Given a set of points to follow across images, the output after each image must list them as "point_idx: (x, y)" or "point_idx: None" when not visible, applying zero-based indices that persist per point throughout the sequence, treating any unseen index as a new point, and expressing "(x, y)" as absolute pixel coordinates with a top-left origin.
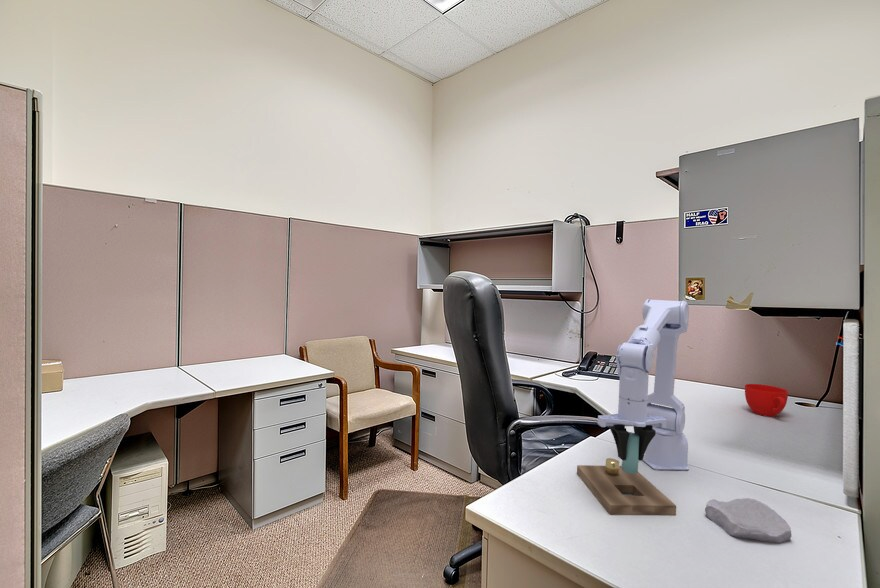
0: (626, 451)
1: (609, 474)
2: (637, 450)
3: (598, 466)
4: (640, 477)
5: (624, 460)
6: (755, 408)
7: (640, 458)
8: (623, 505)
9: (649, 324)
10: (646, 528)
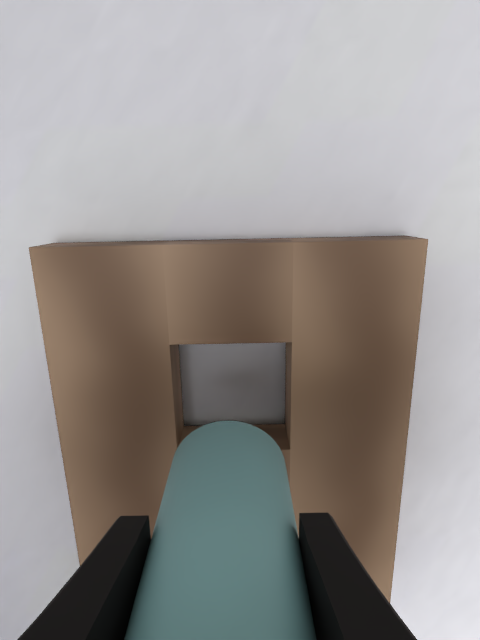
0: (329, 591)
1: None
2: (166, 610)
3: None
4: (98, 527)
5: (295, 523)
6: None
7: (137, 528)
8: (347, 240)
9: None
10: (275, 112)
